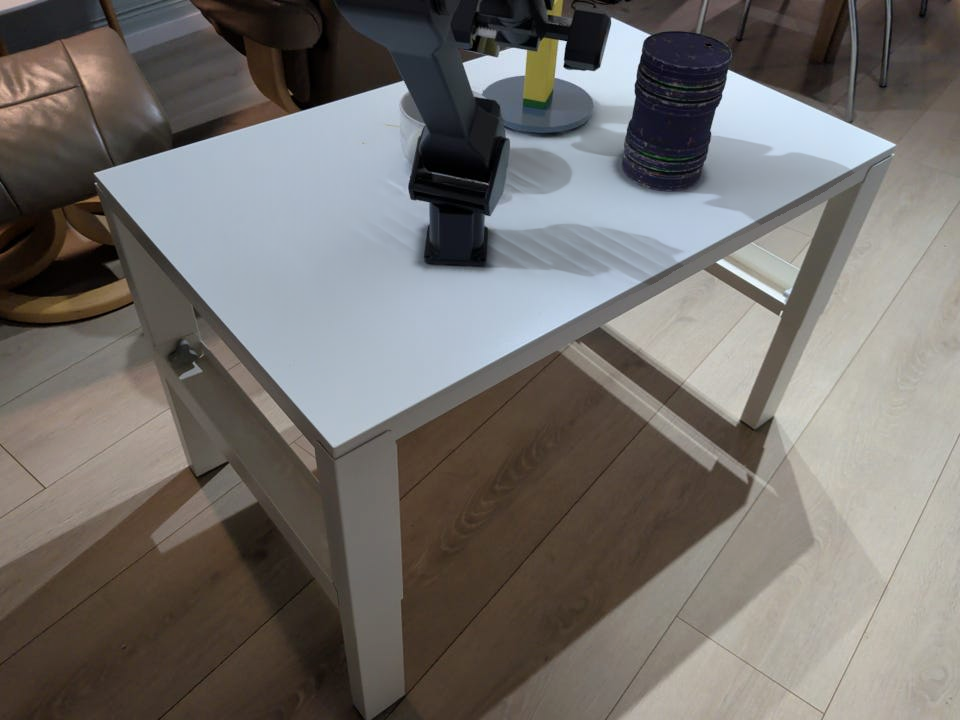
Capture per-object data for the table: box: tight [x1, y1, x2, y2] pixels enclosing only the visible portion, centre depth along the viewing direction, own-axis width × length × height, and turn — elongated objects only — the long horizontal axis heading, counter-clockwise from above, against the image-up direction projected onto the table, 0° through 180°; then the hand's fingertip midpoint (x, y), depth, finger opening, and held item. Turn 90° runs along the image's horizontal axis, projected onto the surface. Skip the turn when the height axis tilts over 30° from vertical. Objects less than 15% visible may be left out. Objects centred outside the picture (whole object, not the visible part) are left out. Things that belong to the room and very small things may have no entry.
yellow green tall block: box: [523, 0, 564, 109], centre depth 102 cm, size 3×4×14 cm, turn 162°
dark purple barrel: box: [621, 30, 733, 192], centre depth 92 cm, size 10×10×15 cm
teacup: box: [398, 90, 487, 179], centre depth 93 cm, size 14×11×8 cm
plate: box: [481, 74, 594, 134], centre depth 107 cm, size 15×15×1 cm
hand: (533, 59), depth 98 cm, fingers open, 9 cm apart
